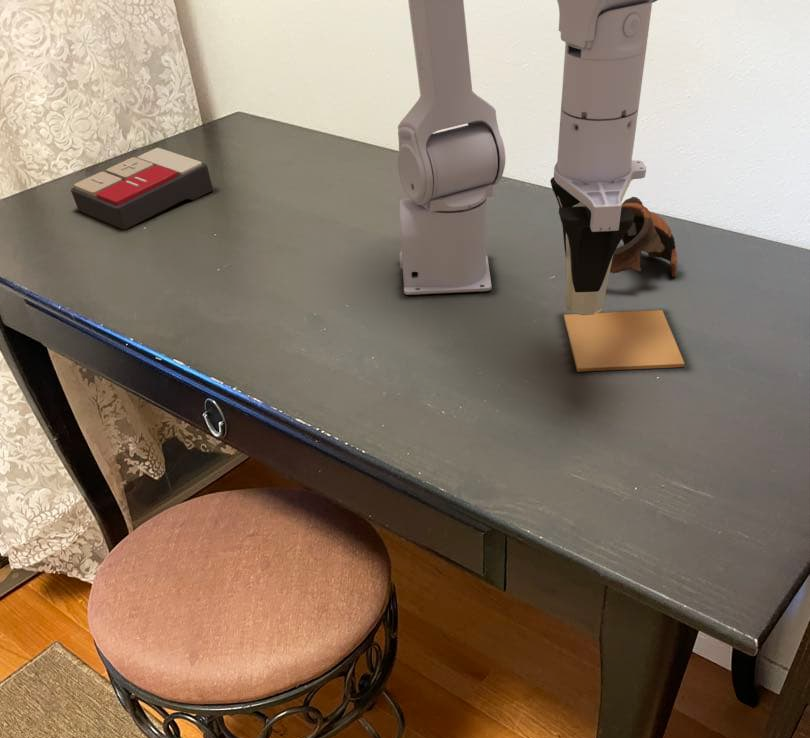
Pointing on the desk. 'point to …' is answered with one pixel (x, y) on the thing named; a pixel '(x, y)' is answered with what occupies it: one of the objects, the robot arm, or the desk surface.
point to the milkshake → (583, 300)
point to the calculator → (141, 187)
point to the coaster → (622, 341)
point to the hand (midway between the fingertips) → (582, 276)
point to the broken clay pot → (644, 239)
